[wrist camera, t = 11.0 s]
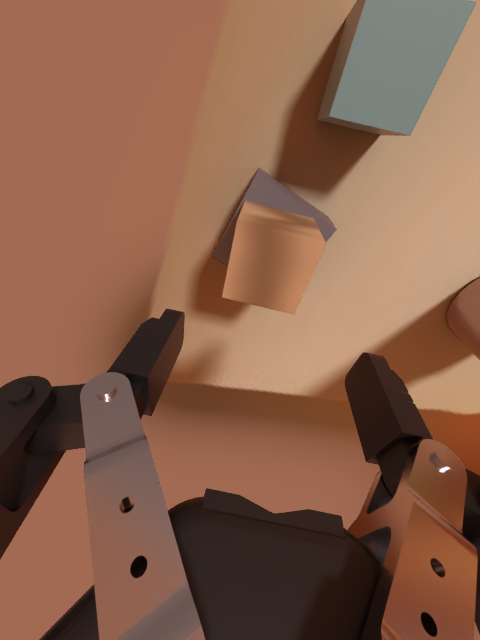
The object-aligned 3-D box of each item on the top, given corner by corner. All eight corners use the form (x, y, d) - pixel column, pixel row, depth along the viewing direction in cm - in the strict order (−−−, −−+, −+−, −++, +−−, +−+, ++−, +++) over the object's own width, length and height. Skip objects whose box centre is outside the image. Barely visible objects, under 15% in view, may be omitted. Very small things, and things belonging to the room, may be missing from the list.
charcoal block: (327, 215, 22) (336, 229, 19) (279, 277, 26) (280, 296, 23) (259, 167, 20) (256, 173, 17) (219, 241, 25) (211, 256, 22)
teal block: (423, 36, 15) (476, 2, 11) (380, 135, 18) (410, 135, 14) (346, 17, 15) (373, -25, 11) (316, 120, 18) (329, 116, 14)
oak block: (313, 218, 19) (326, 243, 14) (289, 279, 22) (294, 314, 18) (245, 200, 18) (237, 221, 14) (231, 264, 22) (221, 297, 18)
